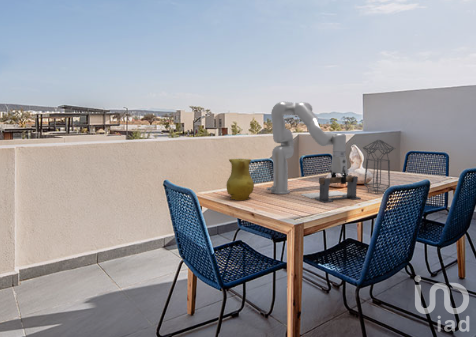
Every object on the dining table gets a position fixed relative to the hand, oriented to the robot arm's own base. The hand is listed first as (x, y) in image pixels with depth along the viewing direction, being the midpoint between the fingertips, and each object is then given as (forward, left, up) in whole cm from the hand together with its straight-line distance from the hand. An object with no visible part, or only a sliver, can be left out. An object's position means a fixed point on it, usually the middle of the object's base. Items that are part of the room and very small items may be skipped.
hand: (338, 182), depth 216 cm
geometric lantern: (+36, +7, -10) cm, 38 cm away
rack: (0, 0, -10) cm, 10 cm away
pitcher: (-53, +27, -10) cm, 60 cm away
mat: (0, +14, -10) cm, 17 cm away
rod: (0, 0, 0) cm, 0 cm away
